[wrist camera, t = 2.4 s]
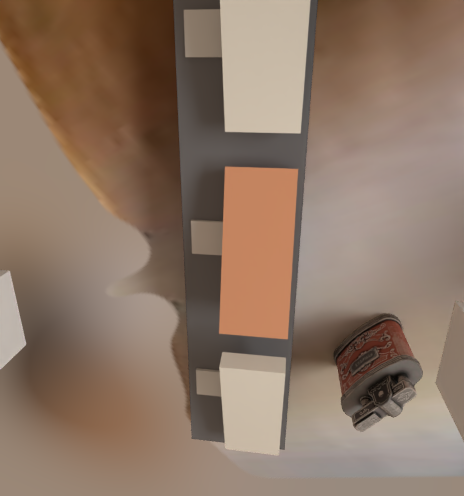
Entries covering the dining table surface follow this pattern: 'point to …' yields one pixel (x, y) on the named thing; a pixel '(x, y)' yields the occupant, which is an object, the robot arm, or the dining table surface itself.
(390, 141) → the dining table surface
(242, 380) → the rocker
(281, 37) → the block
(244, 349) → the rocker switch base
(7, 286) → the robot arm
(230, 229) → the rocker middle
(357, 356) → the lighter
